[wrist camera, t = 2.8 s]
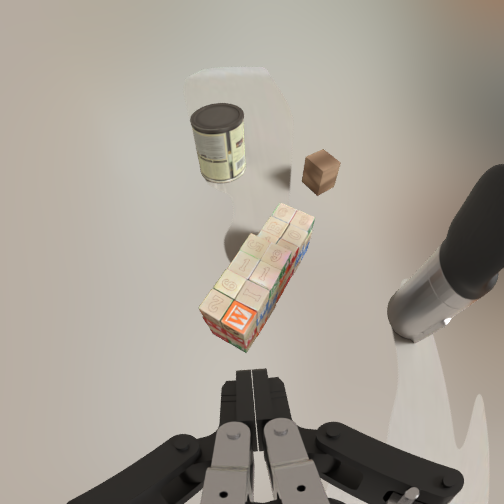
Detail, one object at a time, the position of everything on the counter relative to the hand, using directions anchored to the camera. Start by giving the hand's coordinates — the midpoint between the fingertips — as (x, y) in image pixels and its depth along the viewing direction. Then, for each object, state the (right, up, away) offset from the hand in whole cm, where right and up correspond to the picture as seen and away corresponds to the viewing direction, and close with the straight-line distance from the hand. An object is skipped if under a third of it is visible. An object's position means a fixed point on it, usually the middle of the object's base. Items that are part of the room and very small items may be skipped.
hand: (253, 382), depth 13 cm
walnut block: (+14, +21, +46) cm, 52 cm away
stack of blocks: (+2, 0, +34) cm, 34 cm away
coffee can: (-7, +25, +49) cm, 55 cm away
